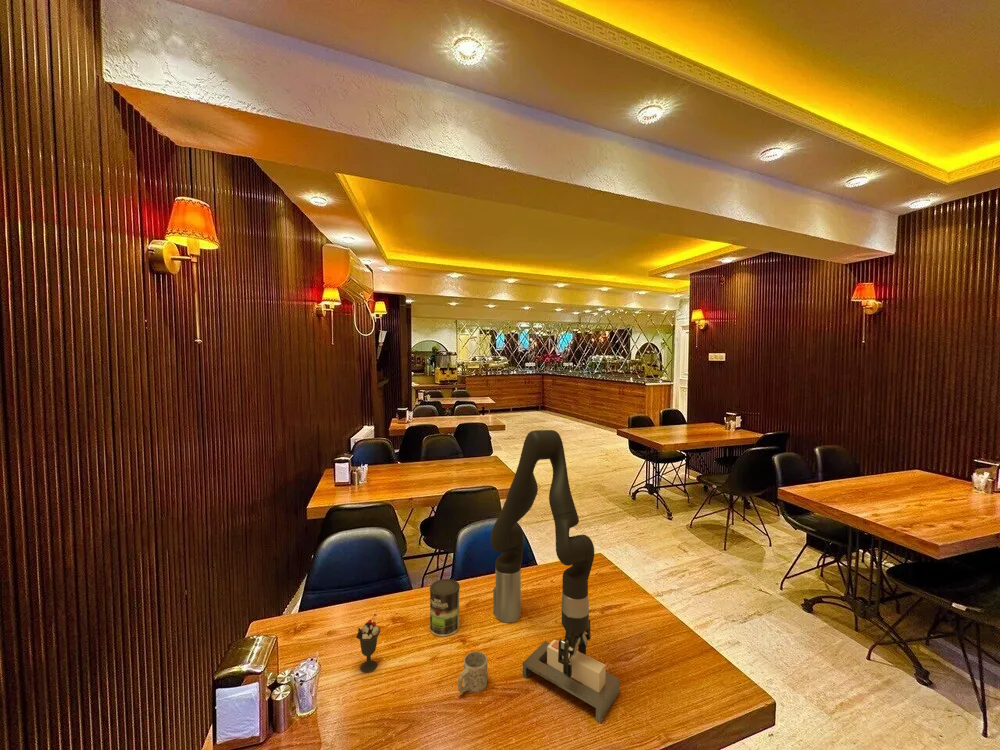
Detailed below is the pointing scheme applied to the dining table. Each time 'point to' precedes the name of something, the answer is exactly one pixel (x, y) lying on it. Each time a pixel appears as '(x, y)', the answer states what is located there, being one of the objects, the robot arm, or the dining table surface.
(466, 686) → the mug
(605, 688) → the slotted board
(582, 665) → the cream rectangular block
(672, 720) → the dining table surface
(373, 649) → the sundae
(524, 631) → the dining table surface
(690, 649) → the dining table surface
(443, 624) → the coffee can
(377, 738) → the dining table surface
